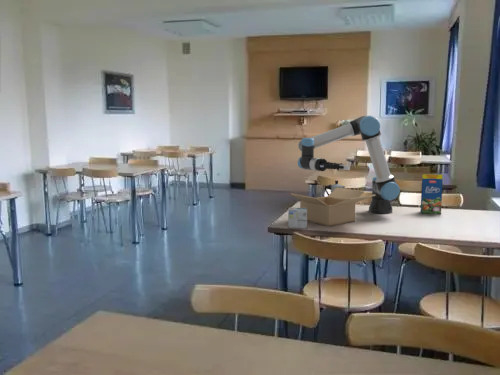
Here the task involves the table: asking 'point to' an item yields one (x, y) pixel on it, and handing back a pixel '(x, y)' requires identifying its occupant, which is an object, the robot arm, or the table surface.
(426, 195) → the blue food package
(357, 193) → the carton
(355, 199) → the carton flap
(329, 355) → the table surface
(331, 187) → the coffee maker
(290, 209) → the light bulb box
